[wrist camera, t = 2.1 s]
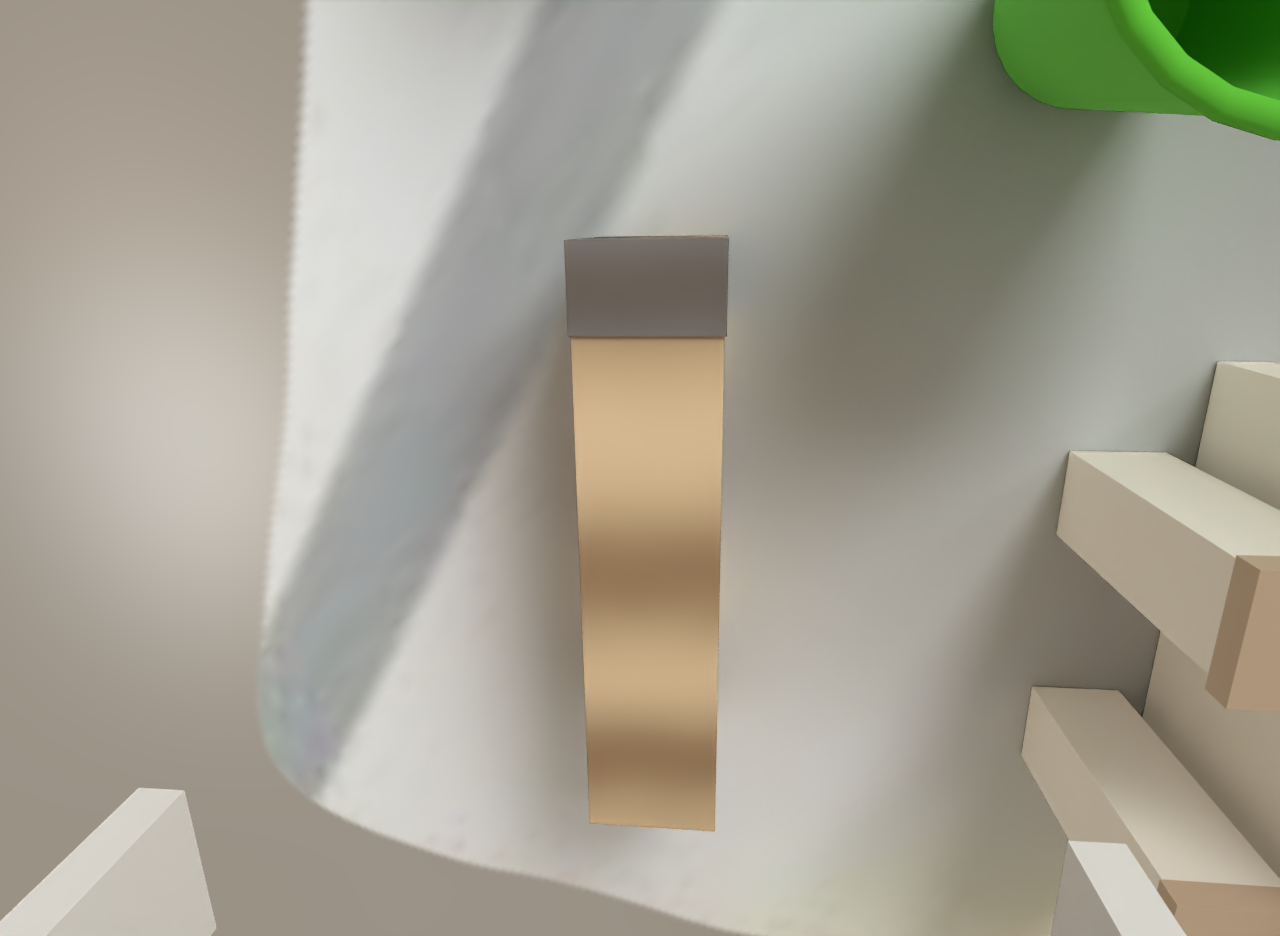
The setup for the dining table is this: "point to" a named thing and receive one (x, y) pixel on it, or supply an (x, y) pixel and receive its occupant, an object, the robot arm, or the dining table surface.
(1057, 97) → the cup
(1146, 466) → the headboard
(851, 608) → the dining table surface
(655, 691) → the block
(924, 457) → the dining table surface
